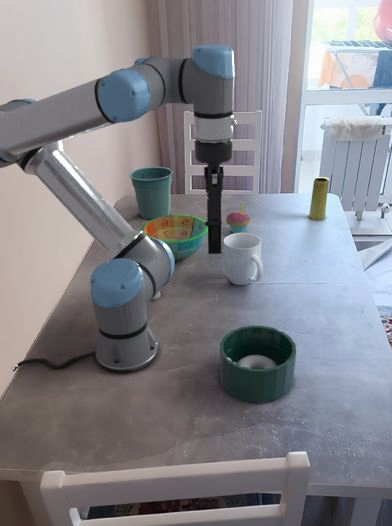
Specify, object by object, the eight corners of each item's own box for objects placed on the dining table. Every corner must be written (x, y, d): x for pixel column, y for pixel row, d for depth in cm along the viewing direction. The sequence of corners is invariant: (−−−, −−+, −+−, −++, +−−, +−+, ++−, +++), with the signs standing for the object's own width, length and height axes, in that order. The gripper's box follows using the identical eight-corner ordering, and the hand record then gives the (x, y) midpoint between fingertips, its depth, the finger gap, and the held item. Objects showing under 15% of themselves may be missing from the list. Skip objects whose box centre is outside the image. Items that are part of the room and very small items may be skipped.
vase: (326, 220, 182) (331, 182, 173) (310, 220, 182) (314, 182, 173) (323, 213, 186) (328, 176, 178) (307, 214, 187) (311, 177, 178)
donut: (227, 383, 110) (268, 396, 105) (226, 371, 107) (268, 384, 103) (245, 359, 116) (284, 370, 112) (245, 347, 114) (285, 358, 110)
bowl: (171, 278, 150) (169, 249, 144) (130, 255, 163) (126, 227, 157) (223, 255, 161) (223, 227, 155) (180, 235, 175) (179, 209, 169)
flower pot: (125, 214, 193) (120, 173, 183) (157, 203, 201) (154, 163, 192) (151, 225, 183) (147, 183, 173) (183, 213, 191) (181, 172, 182)
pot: (248, 413, 102) (249, 381, 97) (206, 371, 114) (205, 341, 108) (307, 384, 109) (312, 353, 103) (262, 347, 120) (264, 317, 115)
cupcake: (253, 229, 177) (254, 197, 170) (242, 238, 172) (243, 205, 164) (233, 225, 181) (233, 193, 174) (221, 233, 175) (221, 201, 168)
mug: (275, 287, 144) (278, 246, 136) (245, 298, 139) (247, 257, 131) (244, 268, 154) (245, 229, 146) (216, 278, 149) (215, 238, 141)
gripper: (236, 156, 84) (233, 265, 97) (229, 122, 104) (228, 216, 117) (193, 157, 85) (196, 266, 98) (194, 123, 104) (197, 217, 117)
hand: (213, 239), depth 107 cm, fingers open, 13 cm apart
